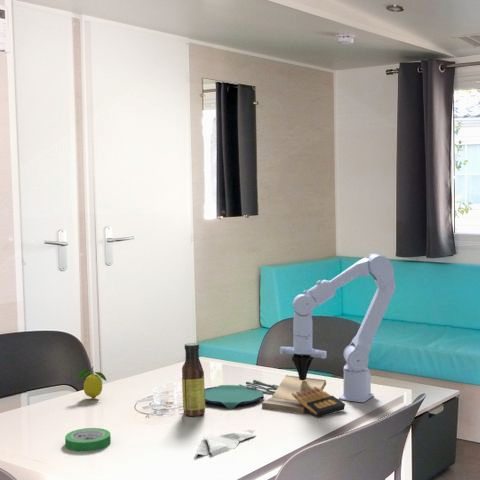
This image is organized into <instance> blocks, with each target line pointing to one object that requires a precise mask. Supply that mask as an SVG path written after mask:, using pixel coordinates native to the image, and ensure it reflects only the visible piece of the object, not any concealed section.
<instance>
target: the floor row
mask: <svg viewBox="0 0 480 480" xmlns="http://www.w3.org/2000/svg"><path fill="white" fill-rule="evenodd" d="M261 407H262V409H266V410H267V409H269V410H275V411H282V412H289V413H295V414H301V415H304V414H306V413H307V412H309V411H308V410H307V409H306V407H305V406H303V405H302V404H301V403H300V402H299V401H294V400H286V399H279V398H272V396H271V397H269V398H267V399H266V400H264V401H261Z"/></svg>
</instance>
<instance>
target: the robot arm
mask: <svg viewBox="0 0 480 480" xmlns="http://www.w3.org/2000/svg"><path fill="white" fill-rule="evenodd" d="M394 271H395V267H394V266H393V265H392V263H391V261H390V259H389V258H387V257H386V256H384V255H382V254H381V253H371V254H368V256H366V257H363V258H362V259H359V260H358V261H357V262H355V263H354V264H352V265H351V266H349V267H347V268H346V269H345V270H343V271H342V272H340V273H339V274H338V275H336V276H334V277H333V278H331V280H327V279H323V280H320V279H319V280H318V281H316V284H315V285H314V286H312V287H310V288H309V289H304V290H303V291H302V292H303V293H300V294H298V295H296V296H295V297H294V299H293V301H292V308H293V309H294V312H293V322H292V324H293V325H292V326H293V327H292V328H293V330H292V331H293V332H292V333H293V334H292V335H293V336H292V337H293V340H292V342H293V343H292V344H293V346H280V347H279V354H280V355H284V354H285V355H293V356H292V357H291V360H292V362H293V364H294V366H295V368H296V371H297V375H298V377H299V380H305V379H306V378H308V377H307V376H308V372H309V368H310V366H311V364H312V362H313V360H314V358H318V359H319V358H320V359H323V360H324V359H327V351H326V350H321V349H316V348H313V322H314V321H313V317H312V316H313V311H314V310H315V308H318V307H320V306H321V305H322V304H324V303H325V302H328V301H329V300H331V299H332V298H333V297H335V295H336V292H337V291H336V290H338V289H340V288H341V287H343V286H345V285H347V284H349V283H350V282H352V281H353V280H355V279H356V278H359V277H370V276H372V277H373V280H374V283H375V285H376V290H375V292H374V295H373V297H372V299H371V302H370V304H369V306H368V308H367V310H366V313H365V315H364V317H363V320H362V321H361V324H360V327H359V328H358V331H357V333H356V335H355V336H354V337H353V338H352V339H351V342H350V343H349V345H347V346H346V347H345V348H344V350H343V352H342V353H343V354H342V355H343V358H344V359H343V360H344V361H345V362H346V363H345V365H344V366H343V394H341V396H339V397H338V400H340V401H343V400H344V401H348V402H349V401H350V402H358V403H365V402H366V401H367V400H369V399H370V398H372V397H373V396H374V393H372V390H371V389H372V386H371V385H372V383H371V382H372V381H371V380H372V375H371V372H370V370H369V368H368V365H369V360H370V359H369V355H370V353H371V350H372V343H373V340H374V338H375V335H376V333H377V332H378V329H379V327H380V325H381V322H382V320H383V318H384V316H385V313H386V312H387V309H388V308H389V305H390V302H391V300H392V298H393V296H394V293H395V292H396V289H397V287H396V286H397V285H396V280H395V274H394Z"/></svg>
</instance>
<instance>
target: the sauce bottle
mask: <svg viewBox="0 0 480 480" xmlns="http://www.w3.org/2000/svg"><path fill="white" fill-rule="evenodd" d="M199 349H200V344H199V343H197V342H187V343H185V344H184V351H185V361H184V363H183V365H182V367H181V374H182V376H181V383H182V384H181V385H182V387H181V388H182V408H183V414H184V415H186V416H189V417H199V416H203V415H204V414H205V412H206V401H205V389H206V388H205V371H204V369H203V365H202V363H201V360H200V353H199V352H200V351H199Z"/></svg>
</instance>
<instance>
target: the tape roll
mask: <svg viewBox="0 0 480 480" xmlns="http://www.w3.org/2000/svg"><path fill="white" fill-rule="evenodd" d="M64 439H65V440H64V441H65V443H64V445H65V448H66V449H67V450H70V451H74V452H93V451H94V452H95V451H99V450H103V449H105V448H108V447H109V446H110V445H111V443H112V442H111V432H110V431H109V430H108V429H104V428H98V427H87V428H86V427H85V428H79V429H76V430H72V431H70V432H68V433H67V434H66V435H65V438H64Z"/></svg>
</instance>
